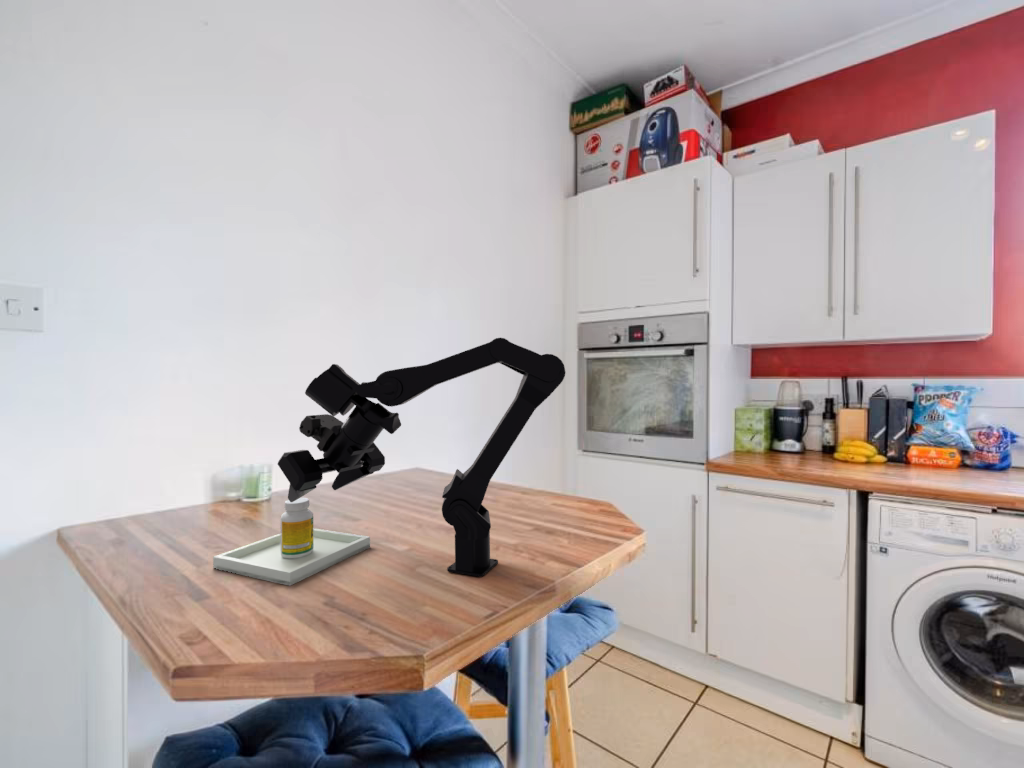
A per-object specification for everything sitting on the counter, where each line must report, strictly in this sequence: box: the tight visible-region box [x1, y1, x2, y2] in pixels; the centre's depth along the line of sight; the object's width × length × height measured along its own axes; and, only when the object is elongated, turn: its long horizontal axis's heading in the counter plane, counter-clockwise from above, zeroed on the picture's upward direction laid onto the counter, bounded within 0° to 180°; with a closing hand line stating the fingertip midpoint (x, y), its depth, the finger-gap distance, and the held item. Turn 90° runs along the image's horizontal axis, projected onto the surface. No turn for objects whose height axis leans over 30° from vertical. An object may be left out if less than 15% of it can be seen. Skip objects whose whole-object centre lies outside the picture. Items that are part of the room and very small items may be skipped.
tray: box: [212, 527, 371, 586], centre depth 82 cm, size 18×18×2 cm
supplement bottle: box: [279, 497, 314, 559], centre depth 82 cm, size 5×5×10 cm
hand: (312, 493), depth 80 cm, fingers open, 9 cm apart
